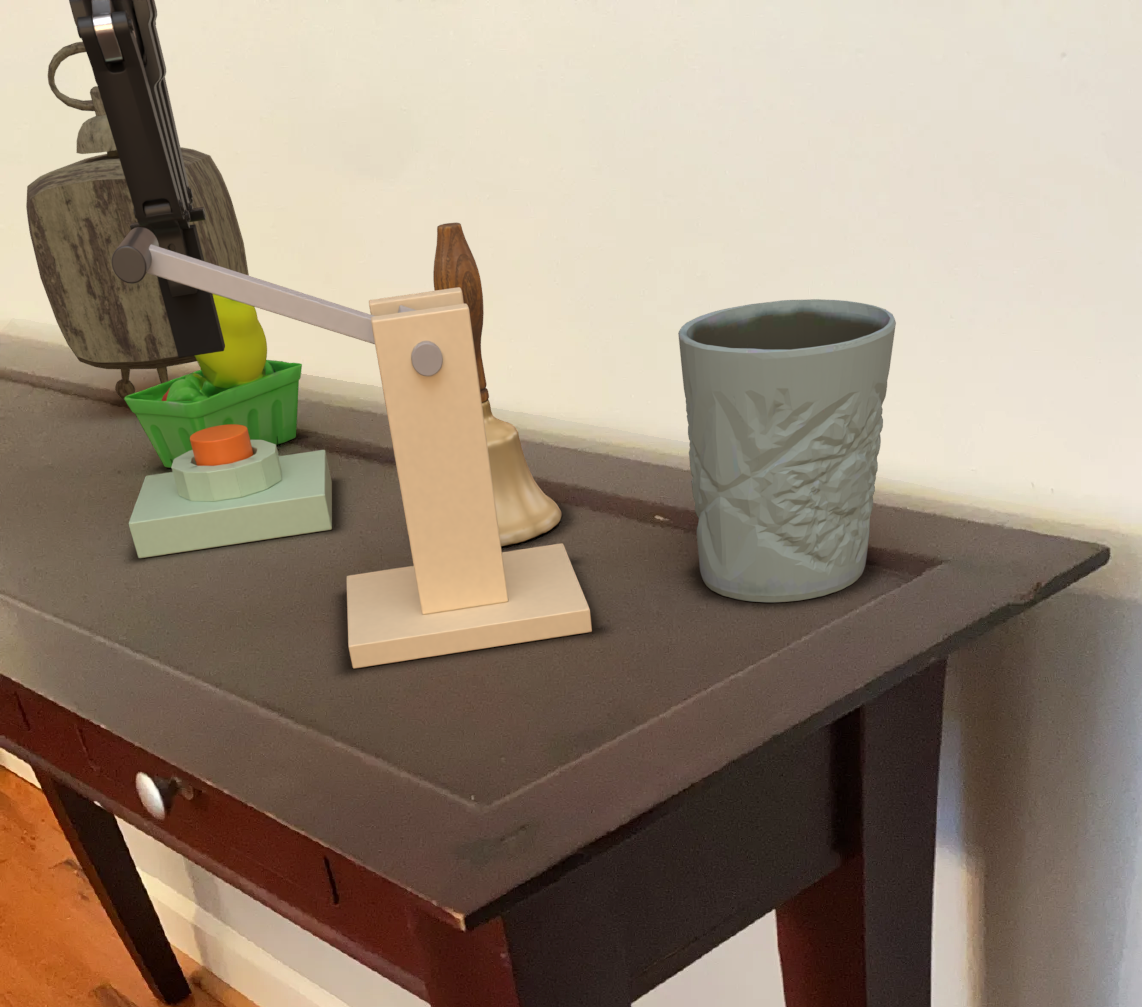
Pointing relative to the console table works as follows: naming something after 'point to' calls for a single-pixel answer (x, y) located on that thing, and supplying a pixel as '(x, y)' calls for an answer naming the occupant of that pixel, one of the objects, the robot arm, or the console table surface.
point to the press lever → (235, 286)
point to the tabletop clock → (115, 247)
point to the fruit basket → (223, 390)
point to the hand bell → (513, 484)
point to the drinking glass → (785, 442)
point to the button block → (232, 501)
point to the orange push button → (221, 445)
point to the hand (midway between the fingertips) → (202, 351)
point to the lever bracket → (449, 508)
